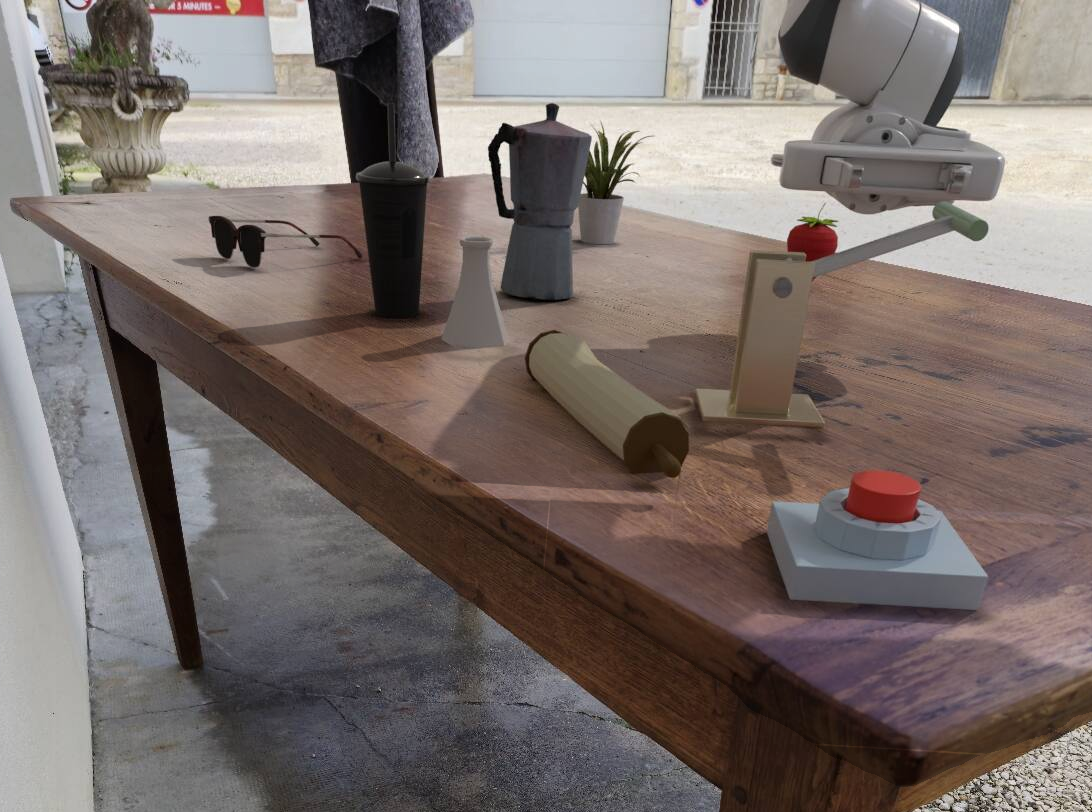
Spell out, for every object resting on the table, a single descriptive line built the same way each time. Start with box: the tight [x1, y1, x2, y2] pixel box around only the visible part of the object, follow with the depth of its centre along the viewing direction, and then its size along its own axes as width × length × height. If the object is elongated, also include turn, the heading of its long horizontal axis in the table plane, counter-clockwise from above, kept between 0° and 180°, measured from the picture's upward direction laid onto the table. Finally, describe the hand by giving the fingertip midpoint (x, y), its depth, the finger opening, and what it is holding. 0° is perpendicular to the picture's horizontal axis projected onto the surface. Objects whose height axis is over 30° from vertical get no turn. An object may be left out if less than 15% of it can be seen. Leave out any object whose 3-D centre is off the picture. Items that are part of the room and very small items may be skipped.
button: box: [845, 470, 922, 524], centre depth 62 cm, size 4×4×2 cm
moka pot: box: [487, 102, 593, 301], centre depth 121 cm, size 10×15×20 cm, turn 136°
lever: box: [784, 201, 990, 278], centre depth 82 cm, size 16×10×2 cm, turn 87°
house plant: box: [577, 120, 654, 245], centre depth 157 cm, size 14×14×16 cm
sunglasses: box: [207, 215, 363, 269], centre depth 140 cm, size 14×16×5 cm
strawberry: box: [786, 202, 839, 282], centre depth 135 cm, size 6×8×10 cm
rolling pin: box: [524, 329, 692, 479], centre depth 84 cm, size 32×6×5 cm, turn 16°
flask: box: [441, 235, 510, 349], centre depth 103 cm, size 7×7×10 cm
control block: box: [766, 487, 989, 611], centre depth 64 cm, size 11×10×4 cm
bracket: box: [694, 249, 826, 429], centre depth 86 cm, size 10×8×13 cm
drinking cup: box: [355, 102, 431, 319], centre depth 111 cm, size 8×8×20 cm
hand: (907, 180), depth 92 cm, fingers open, 8 cm apart
